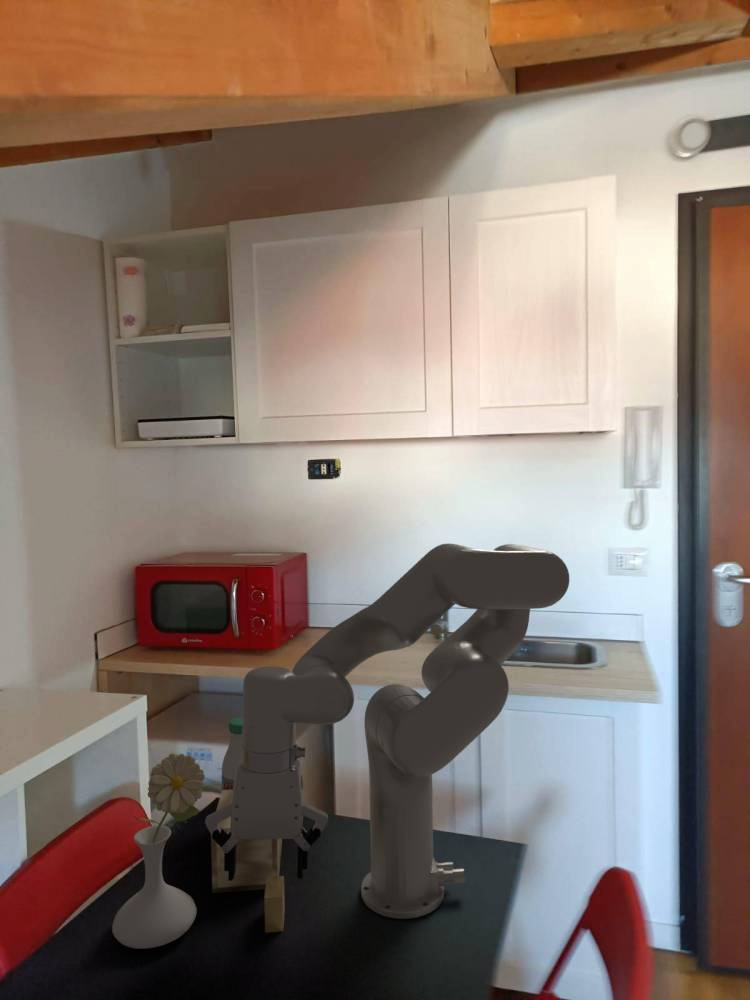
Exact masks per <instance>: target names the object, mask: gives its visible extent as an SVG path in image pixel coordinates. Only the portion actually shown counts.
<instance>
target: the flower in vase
mask: <svg viewBox="0 0 750 1000" xmlns="http://www.w3.org/2000/svg"><path fill="white" fill-rule="evenodd" d="M204 773H205V771H204V769H201V766H200V763H197V762H196V758H195V757H194V756H192V755H190V754H188V755H185V754H184V753H180V754H177V753H173V752H171V753H170V754H169V755H168V756H166V757H165V758H163V759H162V760H161V762H160V763H156V765H155V766H153V767H152V769H151V771H150V775H149V776H150V779H149V781H148V787H147V788H148V789H147V791H148V792H147V797H148V798H150V799H151V803H152V804H153V805H156V807H155V808H156V810H157V811H159V812H163V813H164V815H163V817H162V818H161V820H160V822H158V821H156V820H153V819H149V818H140V817H137V816H136V815H133V817H134V819H136V820H138V821H142V822H147V823H154V824H155V823H156V824H158V825H152V826H147V827H144V828H143V829H141V830H139V831H137V832H136V833H135V835H134V836H133V841H134V843H135V844H136V845H137V846H138V847H139V849H140V850H141V853H142V856H143V861H144V873H145V876H144V878H145V881H144V884H143V887H142V888H141V889H140V890H138V892H136V893H135V894H134V895H133V896H131V897H130V898H129V899H128V900H127V901H126V902H125V903H124V904H122V906H121V907H120V908H119V910H118V911H117V912H116V914H115V917H114V919H113V923H112V926H111V930H112V931H111V932H112V935H113V937H114V938H115V939H116V940H117V941H118V942H119V943H121V944H122V945H123V946H126V947H127V948H132V949H137V950H139V949H141V950H142V949H143V950H144V949H145V950H146V949H152V948H157V947H161V946H165V945H167V944H170V943H171V942H174V941H176V940H177V939H178V938H180V937H182V936H183V935H184V934H185V933H187V931H188V930H190V927H191V926H192V925H193V923H194V921H195V919H196V918H197V917H196V916H197V911H198V909H197V906H196V904H195V901H194V899H193V898H192V896H191V895H189V893H187V892H185V891H183V890H182V889H180V888H178V887H175V886H173V885H169V884H168V883H166V882H165V881H164V877H163V864H162V863H163V855H164V848H165V845H166V843H167V841H168V840H169V838H170V836H171V834H172V830H171V829H170V828H169V827H168V826H165V825H162V824H163V823H164V822H165V820H166V817H167V815H168V814H170V816H171V817H173V819H175V820H176V821H178V822H184V821H187V820H188V819H190V818H192V817H194V816H195V815H197V814H198V813H199V812H200V810H199V809H198V808H197V807H196V806H195V805H196V802H197V801H198V800H200V799H201V798H202V795H203V794H202V793H203V789H204V788H205V782H204V780H205V777H206V776H205V774H204Z"/></svg>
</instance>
